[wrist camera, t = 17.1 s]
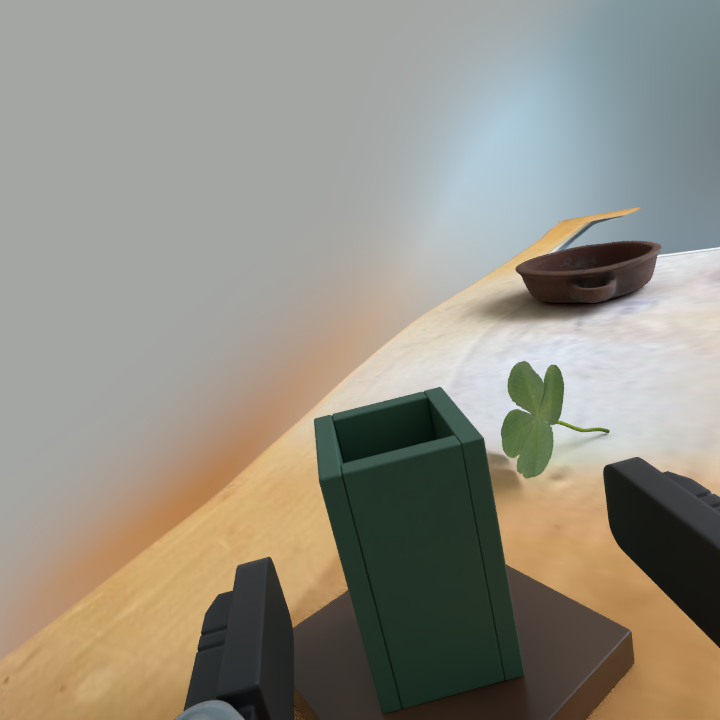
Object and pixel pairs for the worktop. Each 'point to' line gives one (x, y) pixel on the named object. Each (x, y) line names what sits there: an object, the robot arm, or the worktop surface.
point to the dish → (590, 271)
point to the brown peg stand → (481, 705)
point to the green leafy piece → (534, 417)
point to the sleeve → (419, 547)
